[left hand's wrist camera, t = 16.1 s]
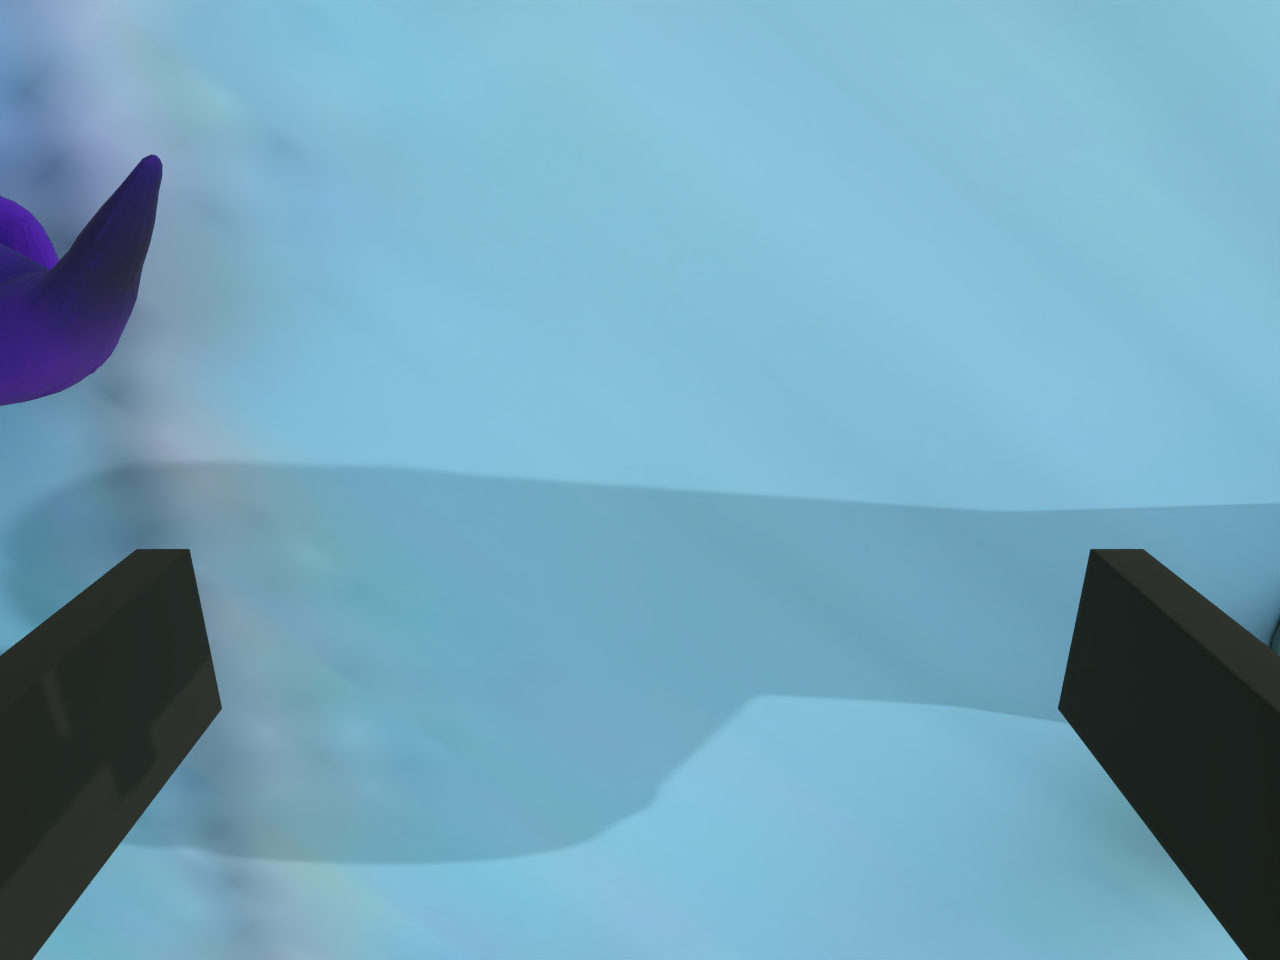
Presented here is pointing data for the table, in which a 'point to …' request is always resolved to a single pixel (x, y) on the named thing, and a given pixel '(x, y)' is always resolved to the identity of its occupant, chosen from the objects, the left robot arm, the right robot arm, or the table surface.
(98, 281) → the toy
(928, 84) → the table surface
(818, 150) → the table surface
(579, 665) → the table surface
